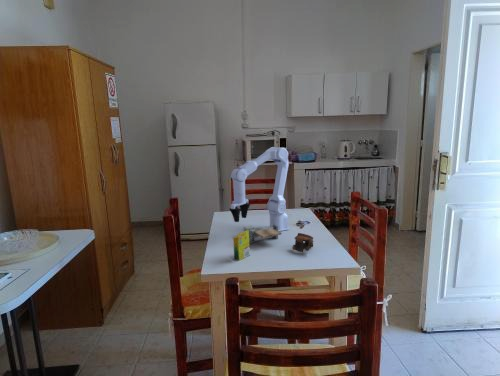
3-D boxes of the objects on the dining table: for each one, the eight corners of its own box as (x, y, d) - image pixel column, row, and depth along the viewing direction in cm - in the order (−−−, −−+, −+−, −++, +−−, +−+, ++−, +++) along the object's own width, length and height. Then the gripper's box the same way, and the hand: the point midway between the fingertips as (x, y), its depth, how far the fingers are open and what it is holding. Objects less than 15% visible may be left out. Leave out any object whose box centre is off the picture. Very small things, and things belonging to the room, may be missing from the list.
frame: (271, 235, 170) (271, 223, 169) (278, 239, 165) (277, 226, 164) (243, 241, 163) (243, 228, 162) (250, 245, 158) (249, 231, 156)
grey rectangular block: (250, 235, 171) (250, 225, 170) (254, 238, 168) (254, 227, 167) (244, 237, 169) (243, 226, 168) (247, 239, 166) (247, 228, 165)
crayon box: (245, 253, 147) (244, 228, 145) (250, 255, 145) (249, 229, 143) (233, 259, 141) (232, 232, 139) (238, 260, 139) (238, 234, 137)
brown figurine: (287, 248, 152) (292, 231, 154) (303, 254, 156) (308, 237, 157) (302, 251, 141) (307, 232, 143) (319, 257, 145) (324, 239, 147)
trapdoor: (267, 230, 170) (267, 224, 169) (283, 238, 157) (283, 232, 157) (246, 234, 164) (246, 228, 163) (260, 243, 151) (260, 236, 151)
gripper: (239, 190, 172) (240, 215, 174) (224, 195, 159) (226, 222, 161) (251, 190, 168) (252, 216, 171) (237, 196, 156) (238, 224, 158)
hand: (240, 219), depth 166 cm, fingers open, 7 cm apart
